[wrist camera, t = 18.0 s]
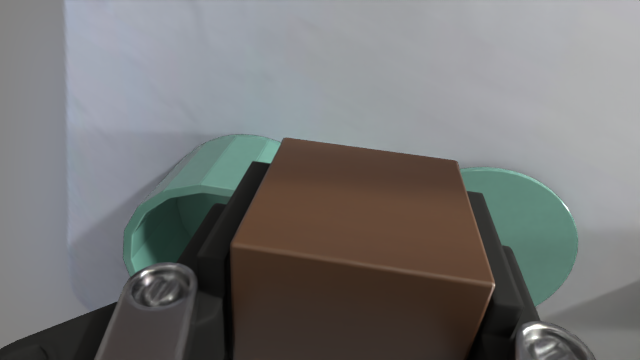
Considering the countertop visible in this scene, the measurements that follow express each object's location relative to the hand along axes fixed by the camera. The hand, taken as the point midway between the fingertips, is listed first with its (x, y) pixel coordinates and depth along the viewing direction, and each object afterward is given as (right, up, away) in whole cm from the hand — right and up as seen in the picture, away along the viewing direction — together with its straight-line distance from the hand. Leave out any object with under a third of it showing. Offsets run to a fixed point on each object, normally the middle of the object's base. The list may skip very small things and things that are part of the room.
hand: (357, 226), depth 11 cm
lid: (+10, -4, +21) cm, 24 cm away
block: (0, 0, 0) cm, 0 cm away
